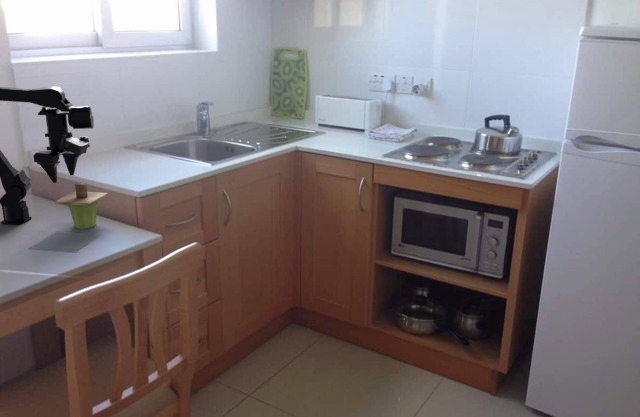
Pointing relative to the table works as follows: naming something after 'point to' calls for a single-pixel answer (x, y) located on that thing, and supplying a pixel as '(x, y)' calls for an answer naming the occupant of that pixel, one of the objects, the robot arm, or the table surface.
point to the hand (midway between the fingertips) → (63, 178)
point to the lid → (81, 196)
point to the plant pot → (84, 215)
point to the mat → (65, 242)
